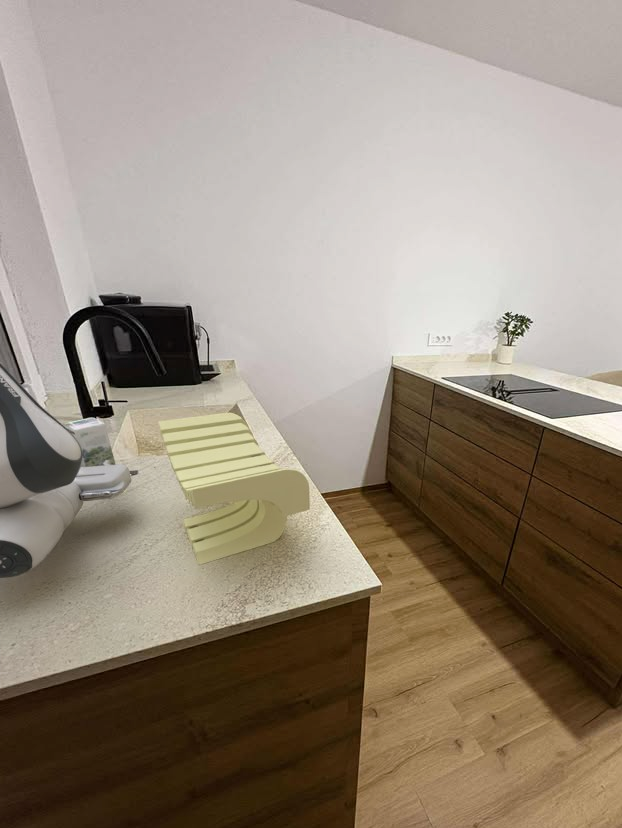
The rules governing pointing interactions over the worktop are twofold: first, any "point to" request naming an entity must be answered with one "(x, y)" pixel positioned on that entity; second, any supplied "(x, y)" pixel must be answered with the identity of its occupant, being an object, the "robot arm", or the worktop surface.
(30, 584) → the worktop surface
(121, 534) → the worktop surface
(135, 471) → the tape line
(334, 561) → the worktop surface
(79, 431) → the syrup box
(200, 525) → the slatted curved stool
